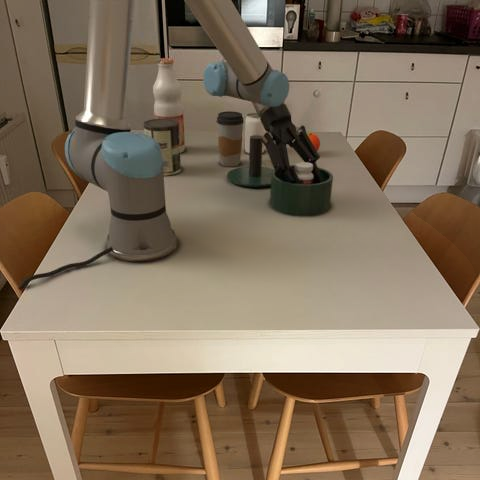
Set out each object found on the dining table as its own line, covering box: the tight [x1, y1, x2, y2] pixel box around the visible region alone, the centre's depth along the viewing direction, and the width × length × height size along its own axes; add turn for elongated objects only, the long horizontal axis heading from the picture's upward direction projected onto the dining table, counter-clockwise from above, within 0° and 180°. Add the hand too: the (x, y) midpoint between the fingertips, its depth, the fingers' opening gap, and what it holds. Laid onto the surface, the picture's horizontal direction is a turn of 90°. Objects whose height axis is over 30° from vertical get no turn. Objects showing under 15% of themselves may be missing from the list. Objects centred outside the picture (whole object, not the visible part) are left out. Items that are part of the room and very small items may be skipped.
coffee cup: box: [216, 110, 245, 167], centre depth 159 cm, size 8×8×15 cm
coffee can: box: [142, 118, 182, 177], centre depth 153 cm, size 10×10×14 cm
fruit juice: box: [152, 57, 186, 154], centre depth 166 cm, size 9×9×28 cm
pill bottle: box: [294, 161, 314, 184], centre depth 133 cm, size 6×6×10 cm
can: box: [244, 112, 266, 155], centre depth 170 cm, size 6×6×12 cm
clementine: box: [306, 132, 321, 152], centre depth 170 cm, size 8×7×7 cm
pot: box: [269, 164, 334, 217], centre depth 134 cm, size 16×16×8 cm
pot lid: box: [226, 135, 274, 188], centre depth 148 cm, size 17×17×12 cm
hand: (310, 190), depth 131 cm, fingers open, 6 cm apart
